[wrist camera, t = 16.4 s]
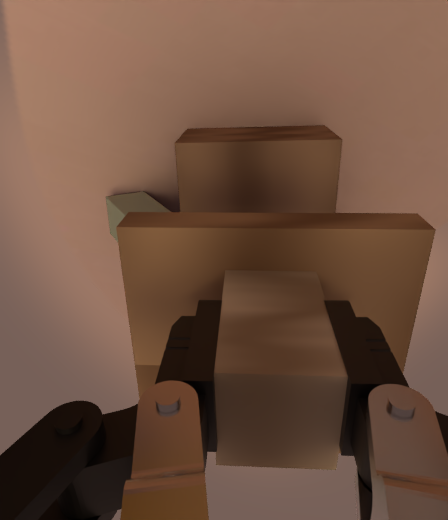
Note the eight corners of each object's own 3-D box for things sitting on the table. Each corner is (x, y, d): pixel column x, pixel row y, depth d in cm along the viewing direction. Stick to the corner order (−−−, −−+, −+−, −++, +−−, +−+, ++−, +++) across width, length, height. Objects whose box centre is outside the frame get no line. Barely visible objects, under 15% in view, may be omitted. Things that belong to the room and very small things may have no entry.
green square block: (200, 233, 25) (143, 191, 32) (153, 243, 23) (105, 196, 31) (201, 277, 26) (146, 226, 34) (157, 289, 24) (110, 233, 32)
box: (324, 125, 29) (342, 139, 24) (315, 250, 34) (328, 286, 28) (187, 128, 30) (174, 143, 25) (195, 251, 34) (186, 287, 29)
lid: (417, 213, 14) (539, 322, 8) (374, 425, 18) (433, 597, 12) (128, 212, 14) (46, 313, 9) (153, 418, 19) (109, 578, 13)
